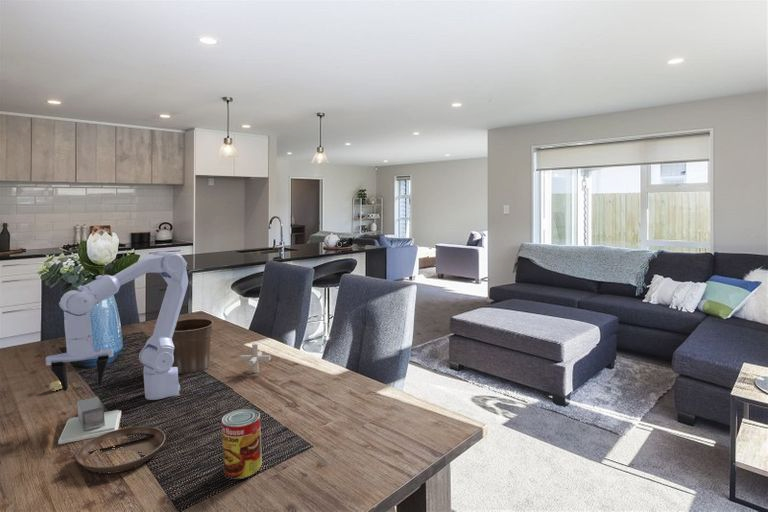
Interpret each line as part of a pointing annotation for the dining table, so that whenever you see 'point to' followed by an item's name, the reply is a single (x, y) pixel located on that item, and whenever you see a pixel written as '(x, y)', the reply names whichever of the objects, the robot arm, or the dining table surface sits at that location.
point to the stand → (76, 432)
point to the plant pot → (192, 345)
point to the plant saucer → (138, 445)
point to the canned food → (241, 443)
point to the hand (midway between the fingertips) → (83, 386)
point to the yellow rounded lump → (55, 385)
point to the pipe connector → (255, 358)
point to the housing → (90, 413)
